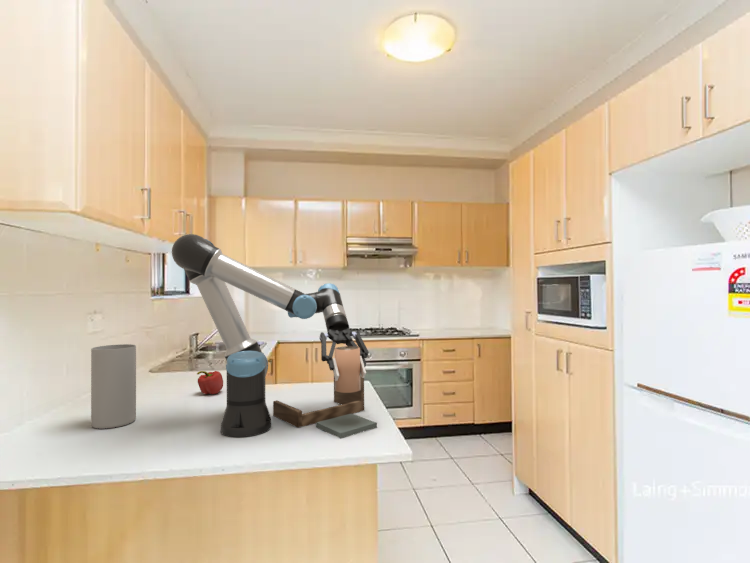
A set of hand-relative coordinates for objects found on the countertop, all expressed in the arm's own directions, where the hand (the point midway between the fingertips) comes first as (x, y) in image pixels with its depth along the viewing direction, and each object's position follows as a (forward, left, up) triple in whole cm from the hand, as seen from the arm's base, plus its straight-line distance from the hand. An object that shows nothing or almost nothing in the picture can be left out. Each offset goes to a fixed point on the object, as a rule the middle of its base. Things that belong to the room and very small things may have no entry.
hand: (350, 376), depth 128 cm
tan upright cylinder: (+1, +3, -5) cm, 6 cm away
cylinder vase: (-53, +58, -17) cm, 81 cm away
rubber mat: (+1, +3, -17) cm, 17 cm away
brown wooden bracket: (+3, +22, -17) cm, 28 cm away
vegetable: (-16, +75, -17) cm, 79 cm away
